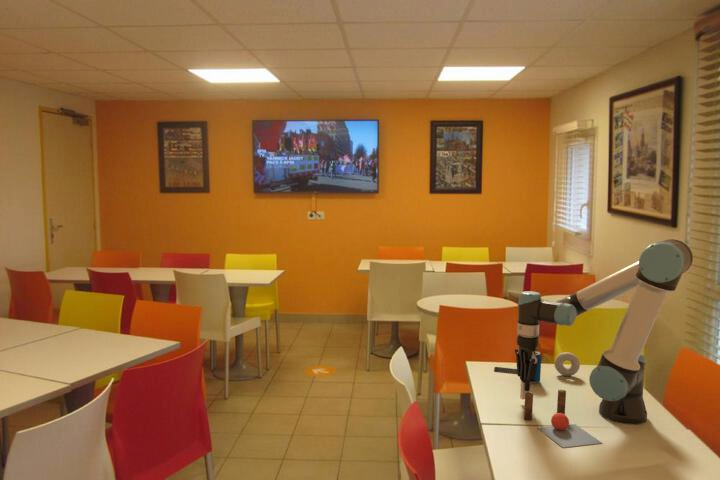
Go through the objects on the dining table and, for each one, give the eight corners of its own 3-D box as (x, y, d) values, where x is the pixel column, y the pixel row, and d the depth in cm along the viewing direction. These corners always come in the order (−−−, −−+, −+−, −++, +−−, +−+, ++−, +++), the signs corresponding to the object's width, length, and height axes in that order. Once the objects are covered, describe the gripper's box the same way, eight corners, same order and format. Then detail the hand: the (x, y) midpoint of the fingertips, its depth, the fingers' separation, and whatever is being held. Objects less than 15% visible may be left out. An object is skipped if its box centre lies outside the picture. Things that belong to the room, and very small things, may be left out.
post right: (566, 417, 197) (567, 392, 196) (559, 418, 197) (560, 392, 196) (561, 414, 200) (563, 389, 199) (555, 415, 199) (556, 389, 198)
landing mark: (602, 443, 178) (602, 442, 178) (562, 448, 175) (562, 447, 175) (574, 424, 192) (574, 424, 192) (537, 428, 188) (537, 427, 188)
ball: (561, 414, 191) (565, 431, 189) (546, 415, 190) (550, 432, 188) (569, 410, 187) (574, 428, 184) (554, 412, 185) (558, 429, 183)
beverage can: (540, 384, 228) (542, 355, 227) (523, 383, 230) (525, 354, 228) (539, 379, 235) (540, 350, 233) (522, 377, 236) (524, 349, 235)
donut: (578, 375, 240) (580, 352, 239) (579, 378, 237) (581, 354, 235) (553, 373, 242) (554, 350, 241) (554, 375, 239) (555, 352, 238)
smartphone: (528, 375, 239) (493, 371, 243) (528, 376, 239) (493, 373, 243) (528, 370, 245) (494, 366, 249) (528, 371, 246) (494, 367, 249)
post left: (533, 420, 194) (534, 394, 193) (526, 421, 193) (527, 395, 192) (529, 417, 197) (530, 392, 196) (522, 418, 196) (523, 392, 195)
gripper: (509, 330, 212) (506, 392, 214) (528, 340, 199) (524, 406, 202) (527, 329, 214) (524, 391, 216) (547, 339, 201) (543, 404, 204)
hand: (524, 398), depth 209 cm, fingers closed
